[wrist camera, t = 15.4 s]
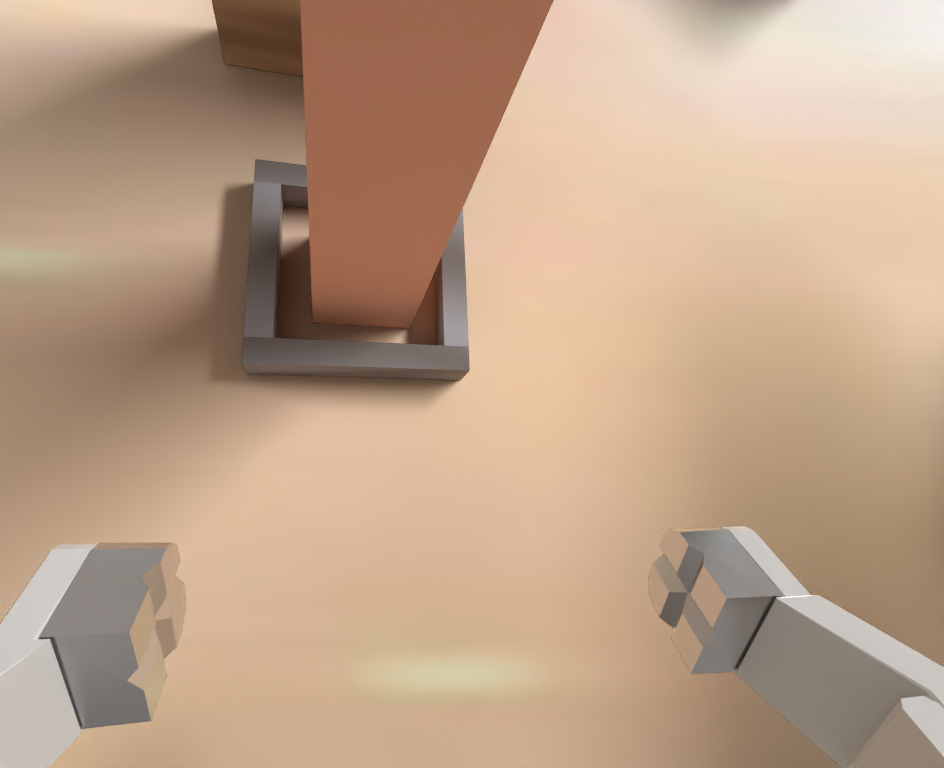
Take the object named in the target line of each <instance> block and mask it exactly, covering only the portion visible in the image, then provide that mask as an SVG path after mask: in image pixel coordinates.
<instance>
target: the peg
mask: <svg viewBox="0 0 944 768" xmlns="http://www.w3.org/2000/svg"><path fill="white" fill-rule="evenodd" d="M552 2H553V0H300V7H301V33H302V59H303V84H304V110H305V136H306V161H307V187H308V213H309V239H310V264H311V290H312V316H313V323H323V324H341V325H360V326H379V327H398V328H410V327H411V325H412V323H413V321H414V318H415V316H416V314H417V311H418V309H419V307H420V305H421V302H422V300H423V298H424V295H425V293H426V291H427V289H428V286H429V284H430V282H431V279H432V277H433V275H434V272H435V270H436V268H437V266H438V263H439V261H440V259H441V256H442V254H443V252H444V250H445V247H446V245H447V243H448V240H449V238H450V236H451V234H452V231H453V229H454V227H455V224H456V222H457V220H458V218H459V215H460V213H461V211H462V208H463V206H464V204H465V202H466V199H467V197H468V195H469V192H470V190H471V188H472V186H473V183H474V181H475V179H476V176H477V174H478V172H479V170H480V167H481V165H482V163H483V160H484V158H485V156H486V153H487V151H488V149H489V147H490V144H491V142H492V140H493V137H494V135H495V133H496V131H497V128H498V126H499V124H500V121H501V119H502V117H503V115H504V112H505V110H506V108H507V105H508V103H509V101H510V99H511V96H512V94H513V92H514V89H515V87H516V85H517V83H518V80H519V78H520V76H521V73H522V71H523V69H524V67H525V64H526V62H527V60H528V57H529V55H530V53H531V50H532V48H533V46H534V44H535V41H536V39H537V37H538V34H539V32H540V30H541V28H542V25H543V23H544V21H545V18H546V16H547V14H548V12H549V9H550V7H551V5H552Z"/></svg>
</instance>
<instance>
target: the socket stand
mask: <svg viewBox="0 0 944 768" xmlns="http://www.w3.org/2000/svg"><path fill="white" fill-rule="evenodd" d="M212 4H213V9H214V14H215V19H216V24H217V28H218V33H219V38H220V43H221V48H222V53H223V58H224V63H225V64H229V65H236V66H242V67H248V68H254V69H260V70H266V71H272V72H278V73H284V74H290V75H296V76H302V77H303V59H302V33H301V7H300V0H212ZM283 205H287V206H296V207H306V208H308V187H307V166H305V165H297V164H289V163H281V162H273V161H265V160H257V159H256V160H255V175H254V190H253V205H252V220H251V235H250V250H249V265H248V280H247V295H246V309H245V324H244V339H243V354H242V364H243V366H244V368H245V370H246V372H247V374H268V375H303V376H338V377H372V378H407V379H442V380H461V379H462V378H463V377H464V376H465V375H466V374H467V373H468V371H469V346H468V322H467V299H466V275H465V251H464V228H463V208H462V211H461V213H460V215H459V218H458V220H457V222H456V224H455V227H454V229H453V231H452V234H451V236H450V238H449V240H448V243H447V245H446V247H445V250H444V252H443V254H442V256H441V259H440V261H439V263H438V266H437V268H436V270H435V300H436V338H437V345H421V344H399V343H377V342H355V341H333V340H311V339H289V338H276V337H277V317H278V297H279V278H280V258H281V239H282V219H283Z"/></svg>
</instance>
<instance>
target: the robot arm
mask: <svg viewBox="0 0 944 768" xmlns="http://www.w3.org/2000/svg"><path fill="white" fill-rule="evenodd" d="M660 547H661V549H662V551H663V553H664V554H663V555H662V556H661V557H660V558H659V559H658V560H657V561H655V562H654V563H653V565H652V568H651V571H650V574H649V577H648V581H649V594H650V598H651V601H652V604H653V606H654V608H655V610H656V612H657V614H658V616H659V617H660V618H661V619H662V620H664V621H665V622H666V623H668V624H669V625H670V626H672V627H673V632H672V638H671V640H672V641H673V643H674V645H675V647H676V649H677V650H678V652H679V654H680V656H681V658H682V659H683V661H684V663H685V665H686V666H687V668H688V670H689V672H690V674H702V673H720V672H736V675H737V676H738V677H739V678H740V679H741V680H743V681H744V682H745V683H746V684H747V685H748V686H749V687H751V688H752V689H753V690H754V691H755V692H756V693H757V694H759V695H760V696H761V697H762V698H763V699H764V700H765V701H766V702H768V703H769V704H770V705H771V706H772V707H773V708H774V709H776V710H777V711H778V712H779V713H780V714H781V715H782V716H783V717H785V718H786V719H787V720H788V721H789V722H790V723H791V724H793V725H794V726H795V727H796V728H797V729H798V730H799V731H801V732H802V733H803V734H804V735H805V736H806V737H807V738H808V739H810V740H811V741H812V742H813V743H814V744H815V745H816V746H818V747H819V748H820V749H821V750H822V751H823V752H824V753H825V754H827V755H828V756H829V757H830V758H831V759H832V760H833V761H835V762H836V763H837V764H838V765H839V766H840V767H841V768H944V667H943V666H941V665H939V664H937V663H936V662H934V661H932V660H930V659H929V658H927V657H925V656H924V655H922V654H920V653H918V652H917V651H915V650H913V649H911V648H910V647H908V646H906V645H904V644H903V643H901V642H899V641H898V640H896V639H894V638H892V637H891V636H889V635H887V634H885V633H884V632H882V631H880V630H879V629H877V628H875V627H873V626H872V625H870V624H868V623H866V622H865V621H863V620H861V619H859V618H858V617H856V616H854V615H853V614H851V613H849V612H847V611H846V610H844V609H842V608H840V607H839V606H837V605H835V604H833V603H832V602H830V601H828V600H827V599H825V598H823V597H821V596H820V595H810V594H809V592H808V591H807V590H806V589H805V588H804V587H803V586H802V584H801V583H800V582H799V581H798V580H797V579H796V578H795V577H794V575H793V574H792V573H791V572H790V571H789V570H788V569H787V567H786V566H785V565H784V564H783V563H782V562H781V561H780V559H779V558H778V557H777V556H776V555H775V554H774V553H773V552H772V550H771V549H770V548H769V547H768V546H767V545H766V544H765V542H764V541H763V540H762V539H761V538H760V537H759V536H758V534H757V533H756V532H755V531H754V530H752V529H750V528H748V527H747V526H734V527H720V528H716V527H713V528H686V529H669V530H668V531H667V532H666V533H665V534H664V535H663V538H662V541H661V543H660ZM179 564H180V557H179V552H178V548H177V545H176V544H174V543H99V544H60V545H58V546H57V547H55V548H54V549H52V550H51V551H50V552H49V553H48V555H47V556H46V558H45V559H44V561H43V562H42V564H41V565H40V566H39V568H38V569H37V571H36V572H35V574H34V575H33V577H32V578H31V580H30V581H29V582H28V584H27V585H26V587H25V588H24V590H23V591H22V593H21V594H20V595H19V597H18V598H17V600H16V601H15V603H14V604H13V606H12V607H11V609H10V610H9V611H8V613H7V614H6V616H5V617H4V619H3V620H2V622H1V623H0V768H48V767H49V766H50V765H51V764H52V763H53V762H54V761H55V760H56V759H57V758H58V757H59V756H60V755H61V754H62V753H63V752H64V751H65V750H66V749H67V748H68V747H69V746H70V745H71V743H72V742H73V741H74V740H75V739H76V738H77V737H78V736H79V735H80V734H81V729H85V728H94V727H103V726H112V725H120V724H129V723H138V722H147V721H151V720H152V717H153V714H154V711H155V708H156V705H157V703H158V700H159V697H160V694H161V691H162V688H163V685H164V682H165V680H166V677H167V674H166V669H165V663H164V658H165V657H166V656H167V655H169V654H170V653H171V652H172V651H173V650H174V649H175V648H176V647H177V644H178V641H179V638H180V635H181V632H182V628H183V622H184V616H185V610H186V593H185V587H184V582H182V581H181V580H180V579H179V578H177V577H176V576H175V574H176V572H177V569H178V566H179Z"/></svg>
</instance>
